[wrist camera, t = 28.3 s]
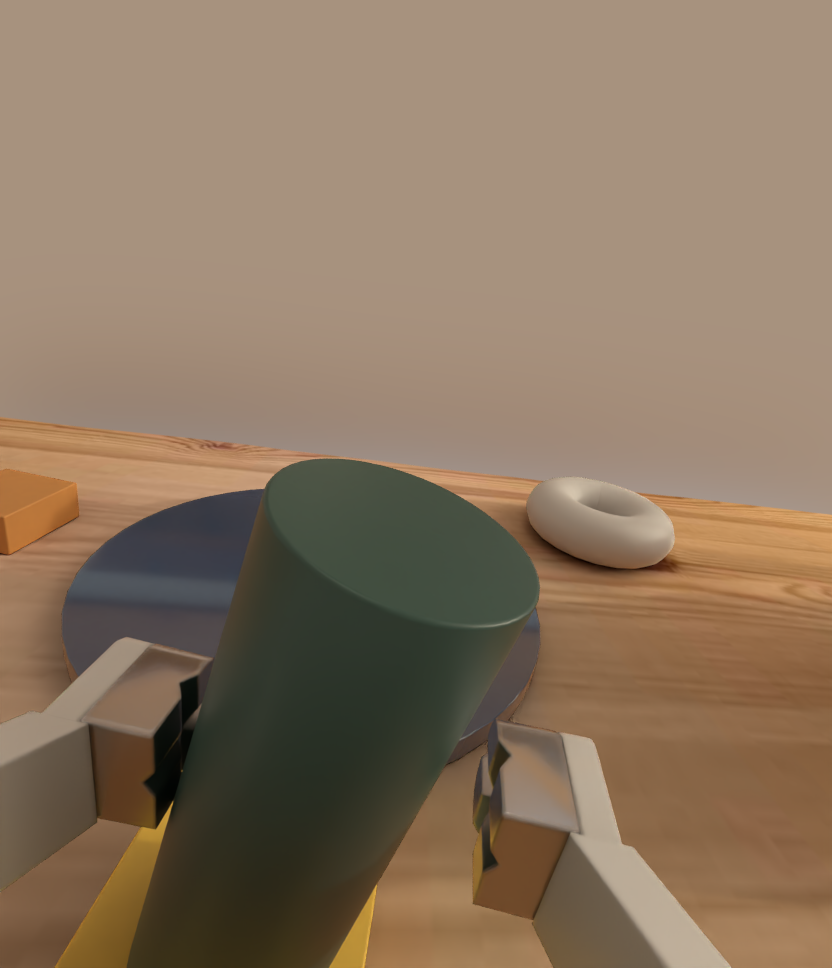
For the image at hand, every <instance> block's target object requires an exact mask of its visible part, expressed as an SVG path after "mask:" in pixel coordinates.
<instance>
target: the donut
mask: <svg viewBox="0 0 832 968" xmlns="http://www.w3.org/2000/svg"><path fill="white" fill-rule="evenodd" d="M526 510H527V514H528V517H529V521H530V524H531V525H532V527H533V528H534V529H535V531H536V532H537V533H538V534H539V535H540V536H541V537H542V538H543V539H544V540H546V541H547V542H549V543H550V544H552V545H553V546H554V547H556V548H558V549H559V550H561V551H564V552H566V553H568V554H570V555H572V556H574V557H576V558H579V559H582V560H585V561H588V562H591V563H594V564H598V565H604V566H609V567H614V568H630V569H637V568H641V567H646V566H650V565H653V564H657V563H658V562H659V561H661V560H662V559H663V558H664V557H665V556H666V555H667V554H668V553H669V552H670V551H671V549H672V548H673V546H674V541H675V536H674V529H673V524H672V522H671V520H670V519H669V517H668V516H667V515H666V514H665V513H664V511H663V510H662V509H661V508H659V507H658V506H657V505H655V504H654V503H652V502H651V501H649V500H648V499H646V498H645V497H643V496H641V495H639V494H637V493H634V492H632V491H630V490H627V489H625V488H622V487H619V486H617V485H613V484H610V483H605V482H602V481H598V480H593V479H588V478H580V477H559V478H552V479H549V480H546V481H544V482H542V483H540V484H538V485H537V486H536V487H535V488H534V489H533V491H532V492H531V494H530V495H529V497H528V500H527V503H526Z"/></svg>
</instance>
